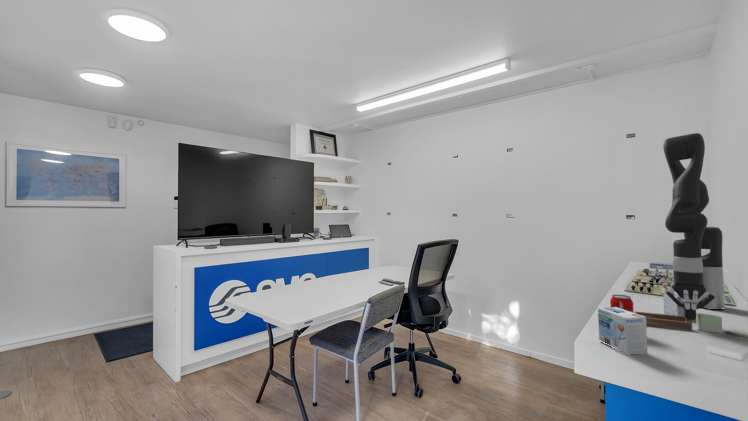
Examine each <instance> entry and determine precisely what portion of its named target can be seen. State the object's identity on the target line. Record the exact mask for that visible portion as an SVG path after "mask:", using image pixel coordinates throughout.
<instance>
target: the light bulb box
mask: <svg viewBox="0 0 748 421" xmlns="http://www.w3.org/2000/svg"><path fill="white" fill-rule="evenodd" d="M597 313H598V314H597V315H598V341H599V340H601V341H603V342H605V343H607V344H609V345H611V346H613V347H615V348H617V349H618V350H620V351H621V352H622V353H621V352H620V353H621V354H623V353H624V354H623V355H626V356H632V355H631V354H640V355H648V337H647V336H648V333H647V332H648V331H647V325H646V317H645V316H642V315H639V314H636V313H635V312H634V313H633V312H630V311H627V310H624V309H621V308H618V307H611V306H610V307H599V308H598V309H597Z"/></svg>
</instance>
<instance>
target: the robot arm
mask: <svg viewBox="0 0 748 421" xmlns="http://www.w3.org/2000/svg"><path fill="white" fill-rule="evenodd" d="M662 147H663V154H664V156H665V159H666V162H667V164H668V165H667V166H668V168H669V171H670V175H671V178H672V183H673V186H672V200H671V202H672V203H671V206H670V209H669V212H668V214H667V216H666V219H665V223H664V224H665V228H666V229H667V231H669V232H670V233H674V234H676V233H678V234H679V233H680V234H683V236H684V239H676V240H674V241H673V244H672V246H673V260H672V267H673V269H672V270H673V285H672V287H671V289H668V290H665V291H664V292H665V293H666V294H667V295H668V296H669V297H670V298H671V299H672V300H673V301H674V302H675V303H676V304H677V305H678V306H679V307H683V308H684V316H685V318H687V319H688V321H693V322H694V321H695V320H696V312H697V310H699V309H702V310H703V308H707V309H706V310H710V309H722V308H725V307H726V306H725V289H724V287H725V286H724V285H725V284H724V267H723V266H724V265H723V232H722V230H721V228H719V227H716V226H708V218H707V216H706V215H705V214H704V213H702V212H703V211H704V210H705V209H706V208H707V206H708V205H709V203H710V196H709V191H708V187H707V185H706V184H705V182H704V181H703V180H702V179H701V175H702V170H703V166H704V165H703V164H704V159H705V151H706V144H705V139H704V136H703V135H702V134H701V133H698V132H695V133H689V134H684V135H683V134H682V135H678V136H674V137H673V136H672V137H668V138H666V139H665V140H664V141H663V146H662ZM683 160H684V161H685V160H690V162H689V164H688V166H687V167H684V165H683V163H682V162H681V161H683ZM702 250H709V252H708V253H706V254H704V255H702ZM674 292H676V293H677V294H678V295H679V296H680V297H681V298H682V302H683V303H680V302H679V301H678V300H677V299H676V298H675V297H674V296H675V293H674ZM689 301H690V305H689ZM687 319H686V320H687Z"/></svg>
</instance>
